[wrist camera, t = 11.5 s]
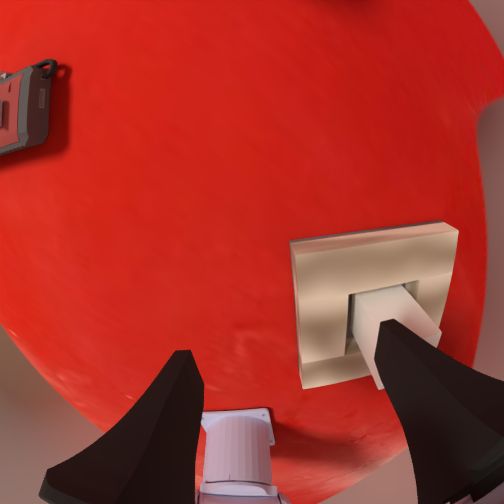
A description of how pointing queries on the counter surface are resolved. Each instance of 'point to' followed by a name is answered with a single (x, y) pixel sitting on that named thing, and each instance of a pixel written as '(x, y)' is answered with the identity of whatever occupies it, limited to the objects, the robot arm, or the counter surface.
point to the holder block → (362, 288)
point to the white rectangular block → (384, 308)
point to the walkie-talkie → (25, 106)
